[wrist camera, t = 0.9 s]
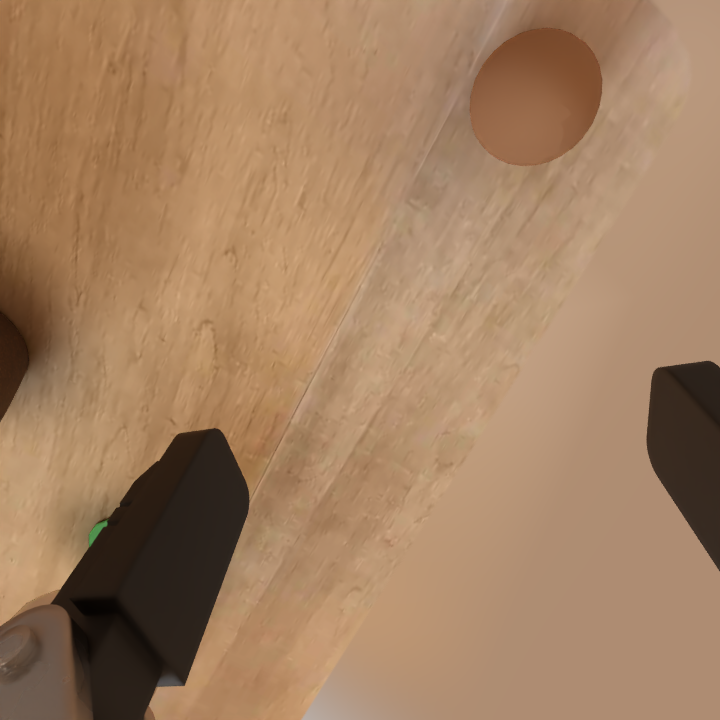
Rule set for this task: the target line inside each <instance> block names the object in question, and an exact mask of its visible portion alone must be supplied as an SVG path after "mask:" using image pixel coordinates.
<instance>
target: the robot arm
mask: <svg viewBox="0 0 720 720" xmlns="http://www.w3.org/2000/svg"><path fill="white" fill-rule="evenodd" d="M647 450H648V454H649V458H650V461H651V464H652V467H653V469H654V471H655V473H656V475H657V476H658V478H659V479H660V481H661V483H662V484H663V486H664V487H665V489H666V490H667V492H668V493H669V495H670V496H671V497H672V499H673V501H674V502H675V504H676V505H677V507H678V508H679V510H680V511H681V513H682V514H683V516H684V518H685V519H686V521H687V522H688V524H689V525H690V527H691V528H692V530H693V531H694V533H695V534H696V536H697V537H698V539H699V540H700V542H701V543H702V545H703V546H704V548H705V550H706V551H707V553H708V554H709V556H710V557H711V559H712V560H713V562H714V563H715V565H716V566H717V568H718V569H719V571H720V368H719V366H718V365H716V364H715V363H713V362H711V361H704V362H696V363H688V364H681V365H674V366H667V367H660V368H657V369H656V370H655V371H654V373H653V376H652V382H651V393H650V404H649V416H648V427H647ZM248 510H249V491H248V487H247V484H246V481H245V479H244V477H243V475H242V472H241V470H240V468H239V466H238V464H237V462H236V460H235V457H234V455H233V453H232V451H231V449H230V447H229V444H228V442H227V440H226V438H225V436H224V434H223V433H222V432H221V431H220V430H219V429H216V428H214V429H206V430H199V431H192V432H185V433H180V434H178V435H177V436H176V437H175V438H174V439H173V441H172V442H171V444H170V445H169V447H168V448H167V450H166V452H165V453H164V455H163V456H162V458H161V459H160V461H157V462H156V463H155V464H153V465H152V466H151V467H150V468H149V469H148V470H147V471H146V472H145V473H143V474H142V475H141V476H140V477H139V478H138V479H137V480H136V481H135V482H134V483H133V485H132V486H131V488H130V489H129V490H128V492H127V493H126V495H125V496H124V498H123V499H122V501H121V502H120V507H119V508H116V509H115V511H114V512H113V514H112V515H111V517H110V518H109V520H108V521H107V527H103V528H102V530H101V531H100V533H99V534H98V536H97V537H96V538H95V540H94V541H93V543H92V544H91V546H90V547H89V549H88V550H87V552H86V553H85V554H84V556H83V557H82V559H81V560H80V562H79V563H78V565H77V566H76V568H75V569H74V570H73V572H72V573H71V575H70V576H69V578H68V579H67V581H66V582H65V584H64V585H63V586H62V588H61V589H60V591H59V592H58V594H57V595H56V597H55V598H54V600H53V601H52V602H51V604H47V605H41V606H37V607H34V608H31V609H29V610H26V611H24V612H22V613H20V614H19V615H17V616H15V617H13V618H12V619H10V620H9V621H7V622H6V623H5V624H3V625H2V626H0V720H155V717H154V714H153V712H152V710H151V708H150V707H149V706H148V705H149V703H150V700H151V698H152V695H153V693H154V691H155V688H156V687H163V686H185V683H186V680H187V678H188V675H189V672H190V670H191V667H192V664H193V661H194V659H195V656H196V653H197V651H198V648H199V645H200V642H201V640H202V637H203V634H204V631H205V629H206V626H207V623H208V621H209V618H210V615H211V612H212V610H213V607H214V604H215V602H216V599H217V596H218V593H219V591H220V588H221V585H222V583H223V580H224V577H225V574H226V572H227V569H228V566H229V564H230V561H231V558H232V555H233V553H234V550H235V547H236V544H237V542H238V539H239V536H240V534H241V531H242V528H243V525H244V523H245V520H246V517H247V514H248Z"/></svg>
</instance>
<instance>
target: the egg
mask: <svg viewBox="0 0 720 720" xmlns="http://www.w3.org/2000/svg"><path fill="white" fill-rule="evenodd" d="M601 94H602V76H601V71H600V66H599V63H598V61H597V59H596V57H595V55H594V53H593V52H592V50H591V49H590V48H589V47H588V45H587V44H586V43H585V42H584V41H582V40H581V39H579V38H578V37H576V36H575V35H573V34H572V33H569V32H566V31H563V30H560V29H552V28H542V29H533V30H530V31H527V32H523V33H520V34H518V35H517V36H515V37H513V38H511V39H509V40H508V41H506V42H504V43H503V44H502V45H501V46H499V47H498V48H497V49H496V50H495V51H494V52H493V53H492V54H491V55H490V56H489V58H488V59H487V60H486V62H485V63H484V64H483V66H482V68H481V70H480V71H479V73H478V75H477V77H476V79H475V82H474V86H473V89H472V93H471V97H470V116H471V122H472V127H473V130H474V133H475V135H476V137H477V139H478V140H479V142H480V143H481V145H482V146H483V147H484V148H485V149H486V150H487V151H488V152H489V153H490V154H491V155H493V156H494V157H496V158H497V159H499V160H501V161H504V162H506V163H509V164H514V165H519V166H527V165H538V164H542V163H546V162H549V161H551V160H554V159H556V158H558V157H560V156H562V155H563V154H565V153H566V152H567V151H569V150H570V149H572V148H573V147H574V146H575V145H576V144H577V143H578V142H579V141H580V140H581V139H582V138H583V136H584V135H585V133H586V132H587V131H588V129H589V128H590V126H591V125H592V123H593V121H594V118H595V116H596V113H597V111H598V108H599V105H600V100H601Z"/></svg>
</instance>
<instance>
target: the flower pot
mask: <svg viewBox="0 0 720 720" xmlns="http://www.w3.org/2000/svg"><path fill="white" fill-rule="evenodd" d="M28 361H29V358H28V351H27V347H26V345H25V342H24V340H23V338H22V337H21V335H20V333H19V332H18V331H17V329H16V328H15V326H14V325H13V324H12V323H11V322H10V321H9V320H8V319H7V318H6V317H5V316H4V315H3V314H1V313H0V421H1V420H2V418H3V416H4V415H5V413H6V411H7V409H8V407H9V406H10V404H11V402H12V400H13V398H14V396H15V394H16V392H17V390H18V388H19V386H20V384H21V381H22V379H23V377H24V375H25V373H26V370H27V368H28Z"/></svg>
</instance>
